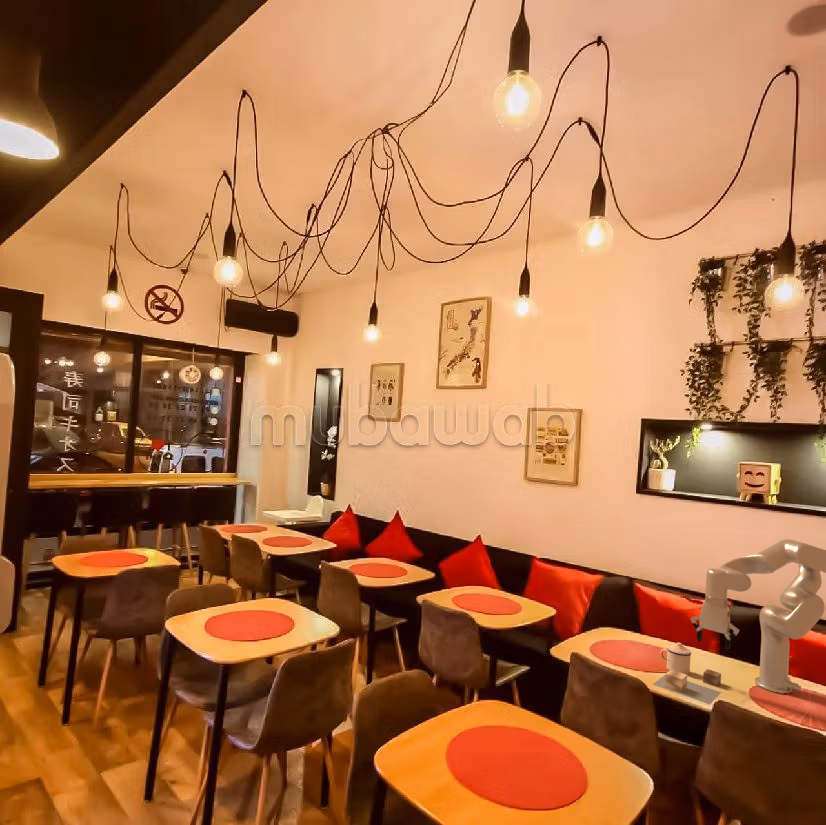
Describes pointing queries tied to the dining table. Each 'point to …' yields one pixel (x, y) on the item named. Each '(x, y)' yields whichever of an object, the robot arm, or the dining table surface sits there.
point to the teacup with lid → (677, 658)
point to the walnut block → (712, 678)
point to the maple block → (676, 681)
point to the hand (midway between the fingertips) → (713, 645)
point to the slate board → (693, 691)
